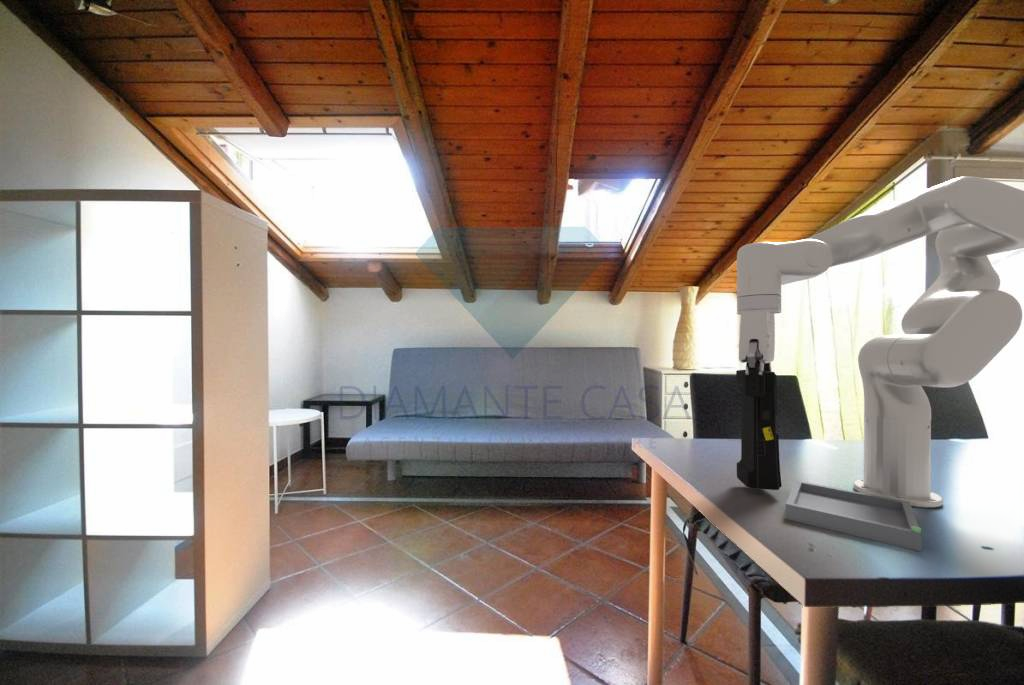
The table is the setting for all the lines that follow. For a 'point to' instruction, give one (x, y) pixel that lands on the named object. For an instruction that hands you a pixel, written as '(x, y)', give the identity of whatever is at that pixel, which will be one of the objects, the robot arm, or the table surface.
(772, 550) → the table surface
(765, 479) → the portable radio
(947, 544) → the table surface
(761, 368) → the robot arm
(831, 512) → the tray
